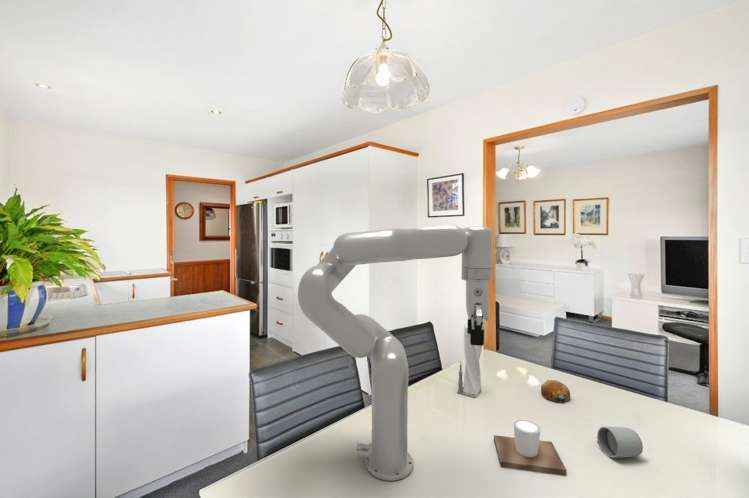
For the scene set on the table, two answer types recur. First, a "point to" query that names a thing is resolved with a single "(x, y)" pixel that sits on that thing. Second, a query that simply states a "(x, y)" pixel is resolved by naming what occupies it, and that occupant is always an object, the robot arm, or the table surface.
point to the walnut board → (541, 462)
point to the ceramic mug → (619, 442)
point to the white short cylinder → (526, 437)
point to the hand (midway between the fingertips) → (475, 339)
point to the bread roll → (555, 391)
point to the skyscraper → (470, 368)
